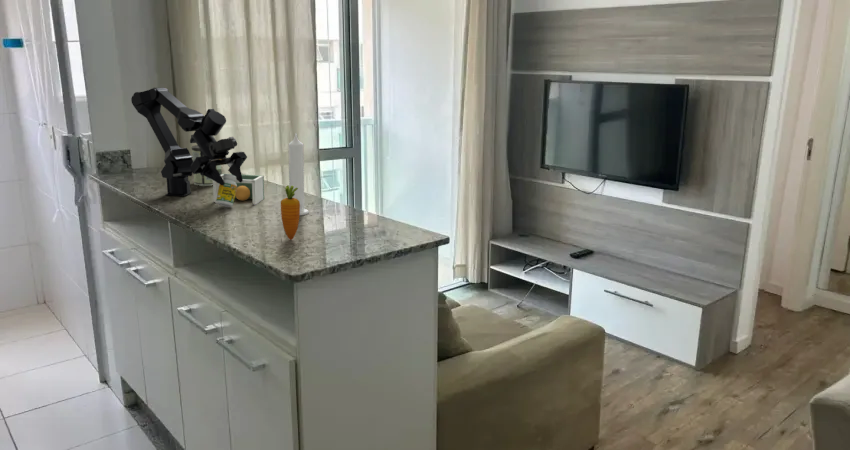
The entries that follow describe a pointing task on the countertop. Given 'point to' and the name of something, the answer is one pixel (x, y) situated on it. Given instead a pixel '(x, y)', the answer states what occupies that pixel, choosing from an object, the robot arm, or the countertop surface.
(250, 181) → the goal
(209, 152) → the robot arm
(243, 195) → the ball
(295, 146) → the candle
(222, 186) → the supplement bottle
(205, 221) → the countertop surface
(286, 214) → the carrot
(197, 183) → the coffee can
